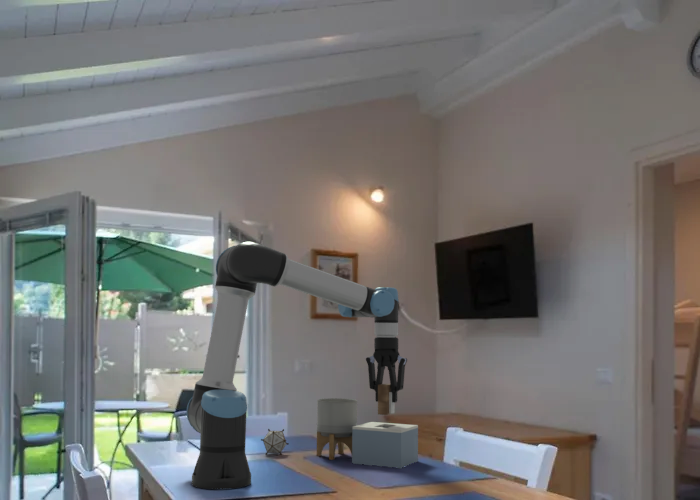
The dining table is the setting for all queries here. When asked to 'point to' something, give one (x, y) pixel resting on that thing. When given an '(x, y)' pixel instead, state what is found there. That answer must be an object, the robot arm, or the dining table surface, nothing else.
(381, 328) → the robot arm
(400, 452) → the coin box
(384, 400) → the block
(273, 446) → the game die
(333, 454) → the planter
